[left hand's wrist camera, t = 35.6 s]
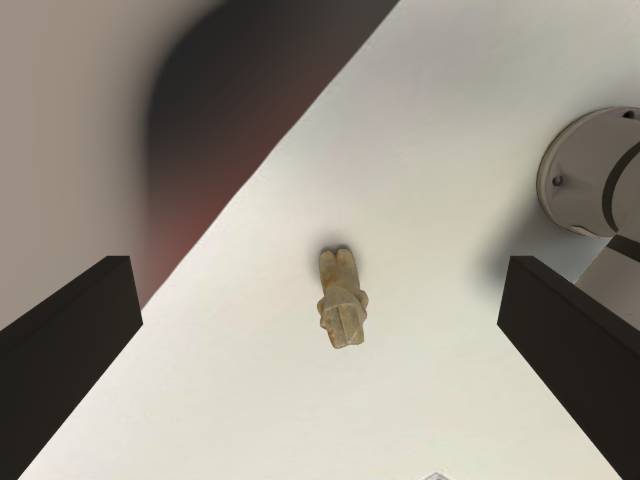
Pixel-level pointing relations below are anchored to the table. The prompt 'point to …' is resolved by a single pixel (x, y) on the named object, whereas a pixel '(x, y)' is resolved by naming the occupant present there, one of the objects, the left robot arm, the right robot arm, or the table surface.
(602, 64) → the table surface
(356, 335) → the sculpture
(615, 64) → the table surface
